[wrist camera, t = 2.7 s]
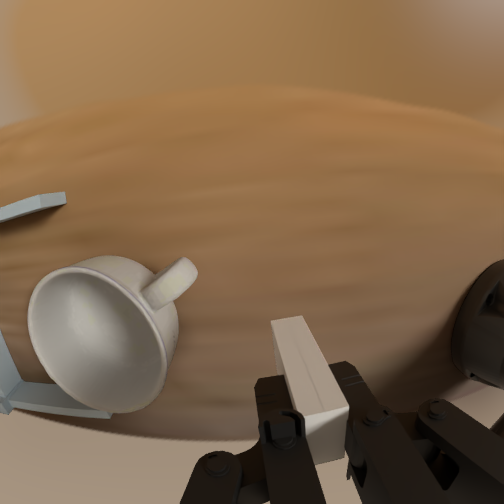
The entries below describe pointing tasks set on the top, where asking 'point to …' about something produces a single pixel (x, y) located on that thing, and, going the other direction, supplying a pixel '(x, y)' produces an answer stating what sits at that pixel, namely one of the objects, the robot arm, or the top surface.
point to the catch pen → (3, 368)
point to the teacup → (109, 329)
